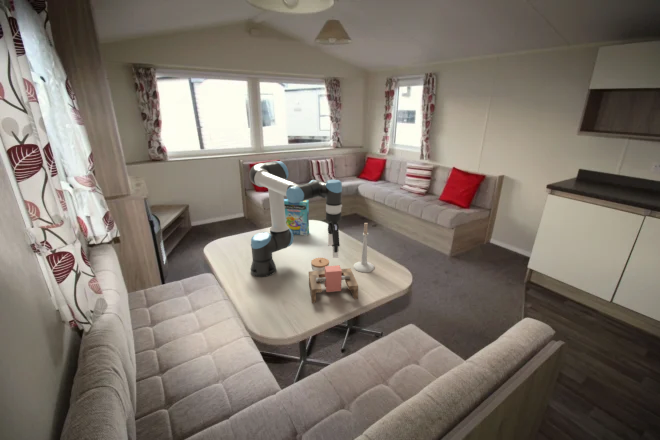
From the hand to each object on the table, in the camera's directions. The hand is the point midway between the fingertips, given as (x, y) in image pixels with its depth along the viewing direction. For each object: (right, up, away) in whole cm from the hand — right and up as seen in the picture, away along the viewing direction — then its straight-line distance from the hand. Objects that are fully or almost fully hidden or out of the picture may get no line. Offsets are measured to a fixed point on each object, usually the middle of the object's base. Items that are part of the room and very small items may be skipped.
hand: (333, 251), depth 156 cm
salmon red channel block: (0, -21, +8) cm, 22 cm away
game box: (-29, +5, +86) cm, 91 cm away
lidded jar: (-7, -16, +29) cm, 34 cm away
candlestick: (+20, -14, +36) cm, 43 cm away
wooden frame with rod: (0, -23, +11) cm, 25 cm away
